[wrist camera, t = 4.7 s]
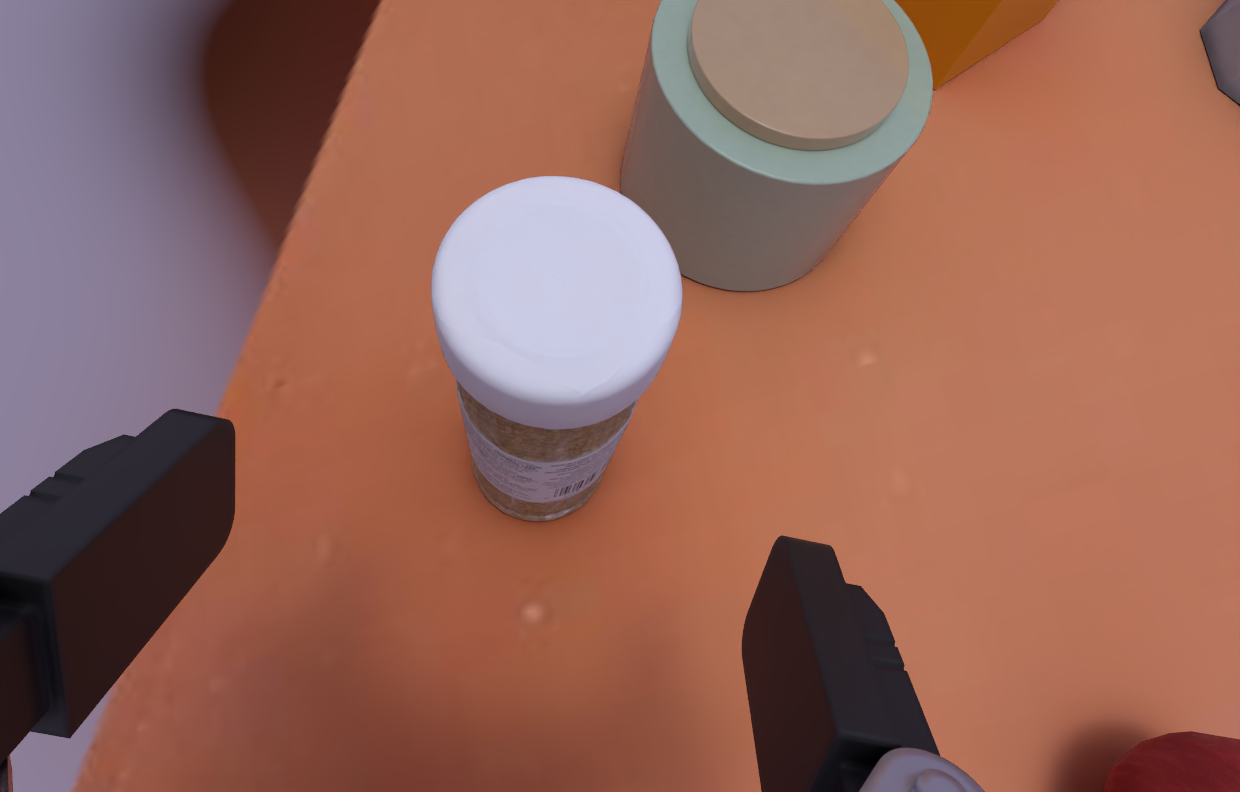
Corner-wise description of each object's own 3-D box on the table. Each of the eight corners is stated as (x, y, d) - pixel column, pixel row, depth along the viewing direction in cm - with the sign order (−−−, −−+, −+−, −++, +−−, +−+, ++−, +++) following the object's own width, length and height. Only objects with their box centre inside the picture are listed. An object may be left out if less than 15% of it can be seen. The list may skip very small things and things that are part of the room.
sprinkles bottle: (572, 375, 27) (623, 136, 15) (626, 492, 26) (732, 343, 14) (448, 424, 26) (388, 209, 14) (500, 548, 25) (487, 441, 13)
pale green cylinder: (586, 238, 29) (610, 99, 22) (663, 63, 32) (708, -111, 25) (809, 327, 29) (908, 217, 22) (865, 143, 32) (969, -8, 25)
